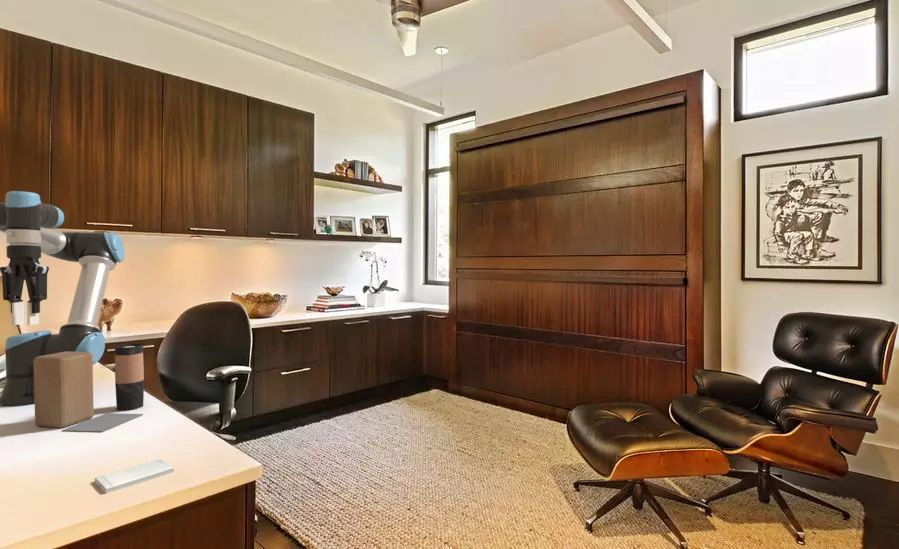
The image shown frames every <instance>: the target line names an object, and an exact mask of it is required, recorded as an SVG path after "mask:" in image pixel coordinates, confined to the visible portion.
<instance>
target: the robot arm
mask: <svg viewBox="0 0 899 549" xmlns="http://www.w3.org/2000/svg"><path fill="white" fill-rule="evenodd" d="M64 221H65V214H64V212H63V211H62V209H60V208H59V207H57V206H54V205H53V204H50V203H49V204H47V203H42V201H41V196H40V195H39V194H38V193H36V192H31V191H24V190H23V191H20V190H18V191H17V190H15V191H14V190H11V191H8V192H6V194H5V202H0V232H1V233H3V234H6V243H7V245H6V257H7V259H9V261H8V262H9V263H8V265H6V266H0V274H1V280H2V282H1V284H2V285H1V286H2V299H3V300H4V301H7V302H9V303H10V313H11V316H12V318H11V319H12V320H11V322H12V324H11V325H13V326H16V325H24V324H25V316H24V315H25V312H24V311H25V310H24V308H25V307H24V300H23V299H22V295H23V291H24V290H23V289H24V288H23V287H24V283H25V285H26V290H27V294H28V298H29V300H27V303H26V310H27V311H26V313H27V314H26V316H27V320H26V322H27V324H26V325H27V326H34V325H39V324H40V321H39V320H40V319H39V318H40V317H39V316H40V313H41V302H42V301H44V300H45V301H46V300H47V299H48V274H49V270H50V267H49V266H46V265H45V266H43V265H41V262H40V261H39V259H41V258H42V254H44V255H46V256H49V257H51V258H52V257H53V258H55V259H59V260H62V261H67V262H70V263H71V262H73V263H78V264H79V265H80V266H81V270H80V274H79V277H78V281H77V285H76V287H75V288H76V289H75V292H74V297H73V300H72V303H71V307H70V312H69V315H68V319H67V322H66V323H65V324H63V325H61V326H60V328H59V331H58V333H55V334H54V333H53V334H52V331H51V330H49V329H45V330H37V331H32V332H26V333H19V334H14V335H10V336H8V337H7V338H6V339H5V348H4V352H5V353H4V355H5V383H4V386H3V387H2V391H1V394H0V404H2V405H1V406H5V405H14V406H23V405H24V404H25V405H31V403H32V404H35V399H34V358H36V357H38V356H43V355H49V354H55V353H60V352H66V351H69V352H89V353H92V357H93V365H95V364H96V363H98V362H99V361H100V360H101V358H102V356H103V355H104V351H105V349H106V344H105V343H106V338H105V335H104V334H103V333H101V332H102V331H101V328H99V327H98V322H99V318H100V312H101V309H102V305H103V301H104V296H105V292H106V288H107V284H108V283H107V282H108V279H109V275H110V271H114V270H115V268H116V266H117V263H122V262H123V261H124V260H125V255H126V254H125V252H126V251H125V246H124V242H123V240H122V238H121V236H120V235H119V234H118V233H115V232H107V231H104V232H94V231H93V232H87V231H86V232H84V231H81V232H79V231H60V230H58V229H56V228H59V227H60V226H61V225H62V224H63V223H64ZM8 244H9V245H8Z"/></svg>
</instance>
